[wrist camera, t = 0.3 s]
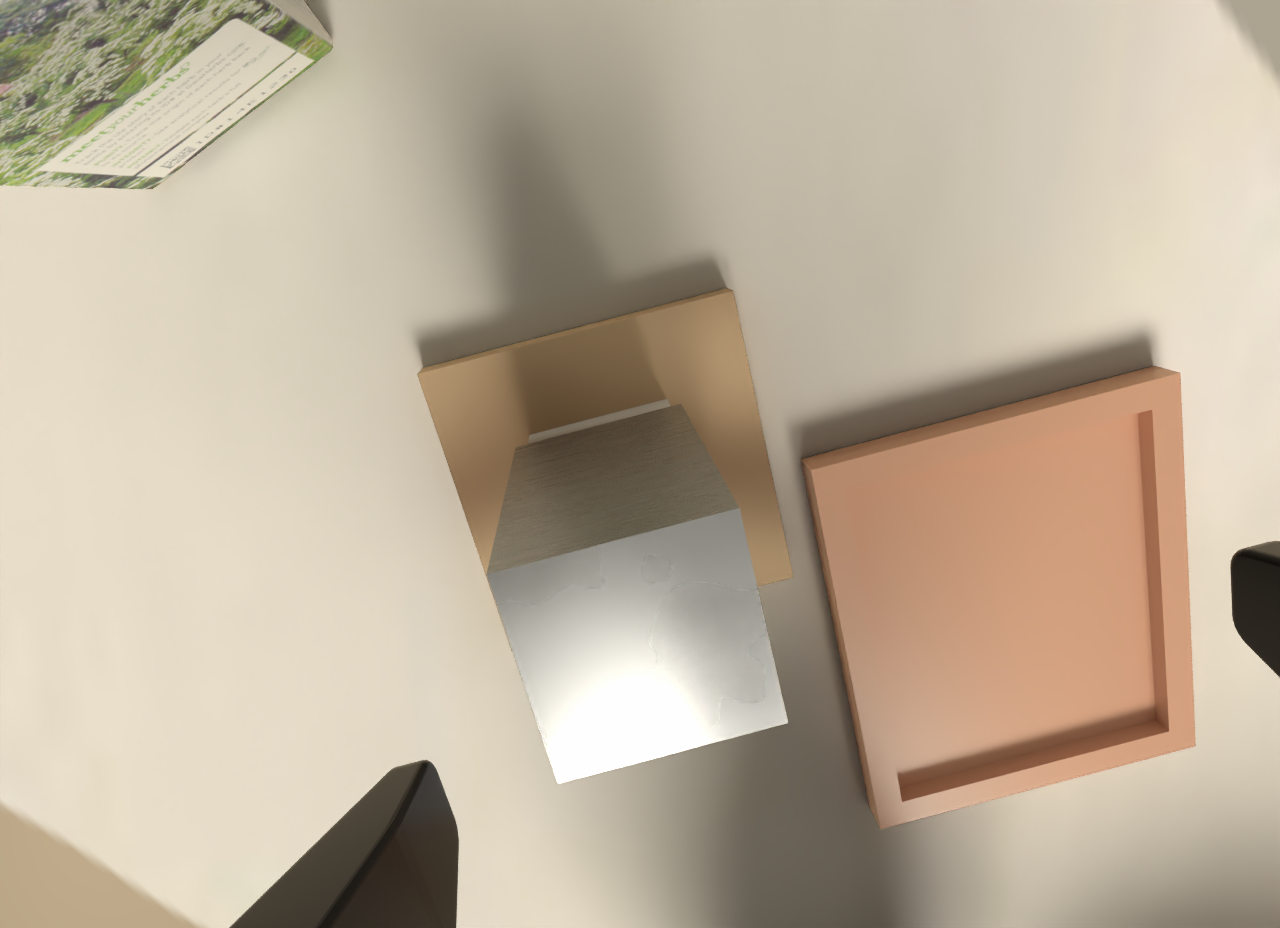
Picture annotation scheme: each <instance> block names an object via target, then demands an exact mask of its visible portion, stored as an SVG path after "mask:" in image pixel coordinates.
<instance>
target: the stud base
mask: <svg viewBox="0 0 1280 928" xmlns="http://www.w3.org/2000/svg"><path fill="white" fill-rule="evenodd" d="M417 375H418V378H419V381H420V384H421V387H422V390H423V392H424V395H425V398H426V401H427V404H428V407H429V410H430V413H431V416H432V419H433V422H434V425H435V428H436V431H437V433H438V436H439V439H440V442H441V445H442V448H443V451H444V454H445V457H446V460H447V463H448V466H449V469H450V472H451V474H452V477H453V480H454V483H455V486H456V489H457V492H458V495H459V498H460V501H461V504H462V507H463V510H464V512H465V515H466V518H467V521H468V524H469V527H470V530H471V533H472V536H473V539H474V542H475V545H476V548H477V551H478V553H479V556H480V559H481V562H482V565H483V568H484V571H485V574H487V569H488V565H489V561H490V556H491V552H492V548H493V543H494V539H495V535H496V530H497V526H498V522H499V517H500V513H501V509H502V504H503V500H504V496H505V491H506V487H507V483H508V478H509V474H510V470H511V465H512V461H513V457H514V452H515V448H516V447H518V446H522V445H526V444H530V443H533V442H537V441H541V440H545V439H549V438H552V437H556V436H560V435H564V434H568V433H571V432H575V431H579V430H583V429H586V428H590V427H594V426H598V425H602V424H605V423H609V422H613V421H617V420H621V419H624V418H628V417H632V416H636V415H640V414H643V413H647V412H651V411H655V410H659V409H662V408H666V407H670V406H674V405H678V404H682V406H683V408H684V410H685V412H686V413H687V415H688V417H689V419H690V420H691V422H692V424H693V426H694V428H695V429H696V431H697V433H698V435H699V437H700V438H701V440H702V442H703V444H704V445H705V447H706V449H707V451H708V453H709V454H710V456H711V458H712V460H713V461H714V463H715V465H716V467H717V469H718V470H719V472H720V474H721V476H722V477H723V479H724V481H725V483H726V485H727V486H728V488H729V490H730V492H731V493H732V495H733V497H734V499H735V501H736V502H737V504H738V506H739V508H740V512H741V516H742V521H743V525H744V530H745V534H746V538H747V543H748V547H749V552H750V556H751V561H752V565H753V569H754V574H755V578H756V583H757V587H759V586H763V585H767V584H770V583H774V582H778V581H782V580H785V579H789V578H793V574H792V569H791V564H790V559H789V555H788V550H787V545H786V540H785V536H784V531H783V526H782V521H781V517H780V512H779V507H778V502H777V498H776V493H775V488H774V483H773V479H772V474H771V469H770V464H769V460H768V455H767V450H766V445H765V441H764V436H763V431H762V426H761V422H760V417H759V412H758V407H757V402H756V398H755V393H754V388H753V383H752V379H751V374H750V369H749V364H748V360H747V355H746V350H745V345H744V341H743V336H742V331H741V326H740V322H739V317H738V312H737V307H736V303H735V298H734V293H733V291H732V290H730V289H728V288H725V289H721V290H718V291H714V292H710V293H706V294H702V295H699V296H695V297H691V298H687V299H683V300H680V301H676V302H672V303H668V304H664V305H661V306H657V307H653V308H649V309H645V310H642V311H638V312H634V313H630V314H626V315H623V316H619V317H615V318H611V319H607V320H604V321H600V322H596V323H592V324H588V325H585V326H581V327H577V328H573V329H569V330H566V331H562V332H558V333H554V334H550V335H547V336H543V337H539V338H535V339H531V340H528V341H524V342H520V343H516V344H512V345H509V346H505V347H501V348H497V349H494V350H490V351H486V352H482V353H478V354H475V355H471V356H467V357H463V358H459V359H456V360H452V361H448V362H444V363H440V364H437V365H433V366H429V367H425V368H423V369H422V370H421V371H420V372H419V373H418V374H417ZM486 577H487V575H486ZM487 580H488V578H487ZM488 583H489V581H488ZM489 586H490V584H489ZM490 589H491V587H490ZM491 592H492V590H491ZM492 594H493V593H492ZM493 597H494V596H493ZM494 600H495V599H494ZM495 603H496V602H495ZM496 606H497V604H496ZM497 609H498V607H497ZM498 612H499V610H498ZM499 615H500V613H499ZM500 618H501V616H500ZM501 621H502V619H501ZM502 624H503V622H502ZM503 627H504V625H503ZM504 630H505V628H504ZM505 633H506V631H505ZM506 635H507V634H506ZM507 638H508V637H507ZM508 641H509V640H508ZM509 644H510V643H509ZM510 647H511V646H510ZM511 650H512V648H511ZM512 652H513V651H512Z"/></svg>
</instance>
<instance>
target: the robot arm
mask: <svg viewBox="0 0 1280 928" xmlns="http://www.w3.org/2000/svg"><path fill="white" fill-rule="evenodd" d="M1231 592H1232V616H1233V621H1234V625H1235V628H1236V630H1237V632H1238V633H1239V635H1240V636H1241V638H1242V639H1243V640H1244V642H1245V643H1246V644H1247V645H1248V646H1249V647H1250V648H1251V649H1252V650H1253V651H1254V652H1255V653H1256V654H1257V655H1258V656H1259V657H1260V658H1261V659H1262V660H1263V661H1264V662H1265V663H1266V664H1267V665H1268V666H1269V667H1270V668H1271V669H1272V670H1273V671H1274V672H1275V673H1276V674H1277V675H1278V676H1279V677H1280V541H1272V542H1266V543H1263V544H1259V545H1255V546H1251V547H1247V548H1244V549H1241V550H1238V551H1237V552H1236V553H1235V554H1234V556H1233V557H1232V560H1231ZM458 853H459V838H458V830H457V825H456V821H455V818H454V815H453V812H452V810H451V807H450V804H449V802H448V799H447V796H446V794H445V791H444V788H443V786H442V783H441V780H440V778H439V775H438V772H437V770H436V768H435V767H434V765H433V764H432V763H431V762H430V761H427V760H422V761H418V762H414V763H410V764H406V765H402V766H398V767H395V768H393V769H392V770H390V771H389V772H388V773H387V774H386V775H385V776H384V777H383V778H382V779H381V780H380V781H379V782H378V783H377V784H376V785H375V786H374V787H373V788H372V789H371V790H370V791H369V792H368V793H367V794H366V795H365V796H364V797H363V798H362V799H361V800H360V801H358V802H357V803H356V804H355V805H354V806H353V807H352V808H351V809H350V810H349V811H348V812H347V813H346V814H345V815H344V816H343V817H342V818H341V819H340V820H339V821H338V822H337V823H336V824H335V825H334V826H333V827H332V828H331V829H330V830H329V831H328V832H327V833H326V834H325V835H324V836H323V837H322V838H321V839H320V840H319V841H318V842H317V843H316V844H314V845H313V846H312V847H311V848H310V849H309V850H308V851H307V852H306V853H305V854H304V855H303V856H302V857H301V858H300V859H299V860H298V861H297V862H296V863H295V864H294V865H293V866H292V867H291V868H290V869H289V870H288V871H287V872H286V873H285V874H284V875H283V876H282V877H281V878H280V879H279V880H278V881H277V882H276V883H275V884H274V885H273V886H271V887H270V888H269V889H268V890H267V891H266V892H265V893H264V894H263V895H262V896H261V897H260V898H259V899H258V900H257V901H256V902H255V903H254V904H253V905H252V906H251V907H250V908H249V909H248V910H247V911H246V912H245V913H244V914H243V915H242V916H241V917H240V918H239V919H238V920H237V921H236V922H235V923H234V924H233V925H232V926H231V927H230V928H456V918H457V885H458Z"/></svg>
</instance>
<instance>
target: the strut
mask: <svg viewBox="0 0 1280 928" xmlns="http://www.w3.org/2000/svg"><path fill="white" fill-rule="evenodd" d="M486 575H487V578H488V581H489V584H490V587H491V590H492V593H493V596H494V599H495V602H496V604H497V607H498V610H499V613H500V616H501V619H502V622H503V625H504V628H505V631H506V634H507V637H508V640H509V643H510V646H511V648H512V651H513V654H514V657H515V660H516V663H517V666H518V669H519V672H520V675H521V678H522V681H523V684H524V687H525V689H526V692H527V695H528V698H529V701H530V704H531V707H532V710H533V713H534V716H535V719H536V722H537V725H538V728H539V730H540V733H541V736H542V739H543V742H544V745H545V748H546V751H547V754H548V757H549V760H550V763H551V766H552V769H553V771H554V774H555V777H556V780H557V783H558V784H560V783H564V782H568V781H571V780H575V779H579V778H583V777H587V776H590V775H594V774H598V773H602V772H605V771H609V770H613V769H617V768H621V767H624V766H628V765H632V764H636V763H640V762H643V761H647V760H651V759H655V758H658V757H662V756H666V755H670V754H674V753H677V752H681V751H685V750H689V749H692V748H696V747H700V746H704V745H708V744H711V743H715V742H719V741H723V740H727V739H730V738H734V737H738V736H742V735H745V734H749V733H753V732H757V731H761V730H764V729H768V728H772V727H776V726H779V725H783V724H787V723H788V719H787V715H786V711H785V706H784V702H783V697H782V693H781V689H780V684H779V680H778V675H777V671H776V666H775V662H774V658H773V653H772V649H771V644H770V640H769V636H768V631H767V627H766V622H765V618H764V613H763V609H762V605H761V600H760V596H759V591H758V587H757V583H756V578H755V574H754V569H753V565H752V561H751V556H750V552H749V547H748V543H747V538H746V534H745V530H744V525H743V521H742V516H741V512H740V508H739V506H738V504H737V502H736V501H735V499H734V497H733V495H732V493H731V492H730V490H729V488H728V486H727V485H726V483H725V481H724V479H723V477H722V476H721V474H720V472H719V470H718V469H717V467H716V465H715V463H714V461H713V460H712V458H711V456H710V454H709V453H708V451H707V449H706V447H705V445H704V444H703V442H702V440H701V438H700V437H699V435H698V433H697V431H696V429H695V428H694V426H693V424H692V422H691V420H690V419H689V417H688V415H687V413H686V412H685V410H684V408H683V406H682V404H678V405H674V406H670V407H666V408H662V409H659V410H655V411H651V412H647V413H643V414H640V415H636V416H632V417H628V418H624V419H621V420H617V421H613V422H609V423H605V424H602V425H598V426H594V427H590V428H586V429H583V430H579V431H575V432H571V433H568V434H564V435H560V436H556V437H552V438H549V439H545V440H541V441H537V442H533V443H530V444H526V445H522V446H518V447H516V448H515V452H514V457H513V461H512V465H511V470H510V474H509V478H508V483H507V487H506V491H505V496H504V500H503V504H502V509H501V513H500V517H499V522H498V526H497V530H496V535H495V539H494V543H493V548H492V552H491V556H490V561H489V565H488V569H487V574H486Z"/></svg>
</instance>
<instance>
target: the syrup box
mask: <svg viewBox="0 0 1280 928" xmlns="http://www.w3.org/2000/svg"><path fill="white" fill-rule="evenodd" d="M332 48H333V41H332V39H331V37H330V36H329V34H328V33H327V32H326V30H325V29H324V28H323V26H322V25H321V23H320V22H319V21H318V19H317V18H316V17H315V15H314V14H313V12H312V11H311V10H310V8H309V7H308V6H307V4H306V3H305V1H304V0H0V185H9V186H34V187H70V188H78V187H82V188H97V187H101V188H119V189H123V188H124V189H153V188H154V187H156V186H157V185H159V184H160V183H162V182H163V181H164V180H166V179H167V178H168V177H170V176H171V175H172V174H173V173H174V172H176V171H177V170H179V169H180V168H181V167H183V166H184V165H185V164H186V163H187V162H188V161H189V160H191V159H192V158H193V157H195V156H196V155H197V154H199V153H200V152H201V151H202V150H204V149H205V148H206V147H207V146H209V145H210V144H212V143H213V142H214V141H215V140H216V139H217V138H219V137H220V136H221V135H223V134H224V133H225V132H227V131H228V130H229V129H230V128H232V127H233V126H234V125H235V124H237V123H238V122H239V121H240V120H242V119H243V118H244V117H245V116H247V115H248V114H249V113H251V112H252V111H253V110H255V109H256V108H257V107H259V106H260V105H261V104H263V103H264V102H265V101H266V100H267V99H269V98H270V97H271V96H272V95H274V94H275V93H276V92H278V91H279V90H280V89H282V88H283V87H284V86H286V85H287V84H288V83H290V82H291V81H292V80H293V79H295V78H296V77H297V76H299V75H300V74H301V73H303V72H304V71H305V70H307V69H308V68H310V67H311V66H312V65H313V64H315V63H316V62H317V61H318V60H320V59H321V58H322V57H323V56H325V55H326V54H327V53H328V52H330V51H331V50H332Z"/></svg>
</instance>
